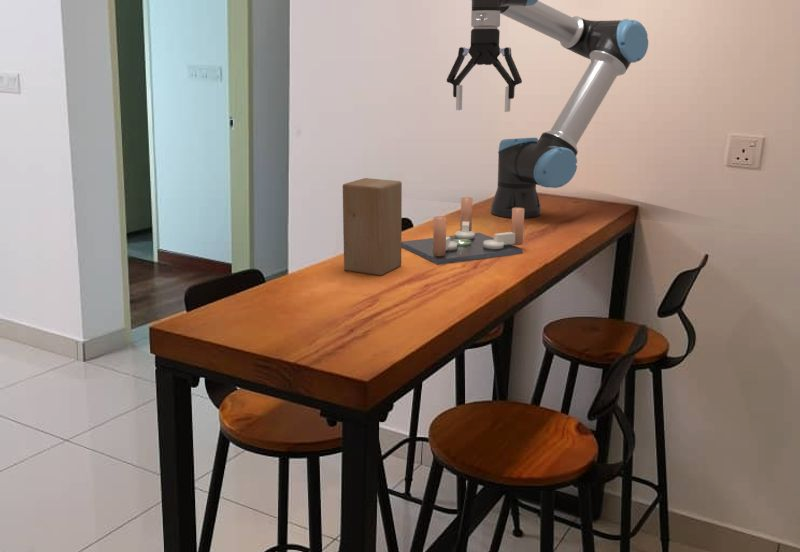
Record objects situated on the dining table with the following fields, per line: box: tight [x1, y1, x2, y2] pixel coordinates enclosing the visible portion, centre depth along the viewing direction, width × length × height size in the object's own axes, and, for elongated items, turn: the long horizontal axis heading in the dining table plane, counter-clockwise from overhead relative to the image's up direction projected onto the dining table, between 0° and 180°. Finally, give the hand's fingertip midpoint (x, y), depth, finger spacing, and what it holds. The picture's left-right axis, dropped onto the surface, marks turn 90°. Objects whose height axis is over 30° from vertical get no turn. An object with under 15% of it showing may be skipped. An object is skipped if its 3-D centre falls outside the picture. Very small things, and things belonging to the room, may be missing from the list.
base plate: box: [401, 232, 524, 266], centre depth 201 cm, size 24×20×2 cm
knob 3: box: [483, 208, 525, 249], centre depth 198 cm, size 11×5×9 cm, turn 117°
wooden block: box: [342, 177, 403, 276], centre depth 182 cm, size 10×10×20 cm
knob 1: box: [432, 215, 457, 256], centre depth 193 cm, size 11×5×9 cm, turn 162°
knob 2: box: [454, 196, 476, 239], centre depth 210 cm, size 11×5×9 cm, turn 173°
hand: (482, 110), depth 215 cm, fingers open, 13 cm apart
